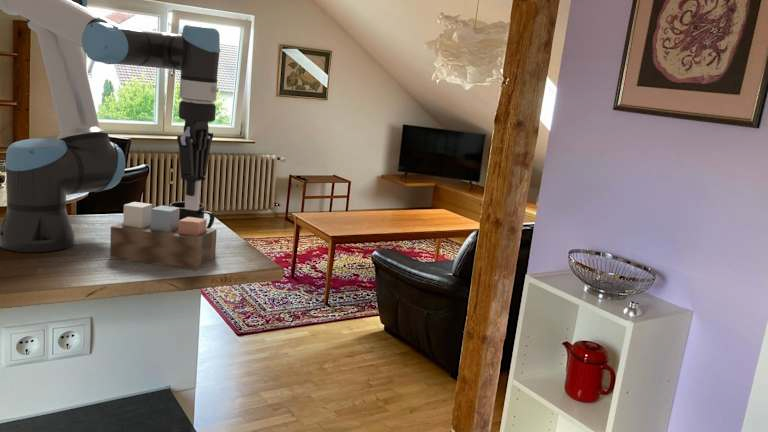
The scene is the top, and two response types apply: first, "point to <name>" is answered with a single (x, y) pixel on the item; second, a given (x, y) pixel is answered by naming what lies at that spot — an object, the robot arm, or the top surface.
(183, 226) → the terracotta key
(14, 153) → the robot arm
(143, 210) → the ivory key
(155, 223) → the slate key
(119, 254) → the brown wooden block
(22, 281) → the top surface
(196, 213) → the mug
